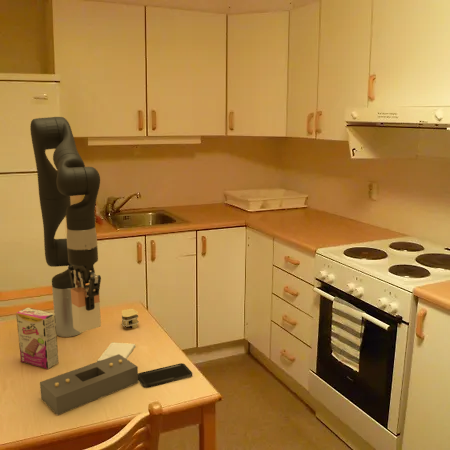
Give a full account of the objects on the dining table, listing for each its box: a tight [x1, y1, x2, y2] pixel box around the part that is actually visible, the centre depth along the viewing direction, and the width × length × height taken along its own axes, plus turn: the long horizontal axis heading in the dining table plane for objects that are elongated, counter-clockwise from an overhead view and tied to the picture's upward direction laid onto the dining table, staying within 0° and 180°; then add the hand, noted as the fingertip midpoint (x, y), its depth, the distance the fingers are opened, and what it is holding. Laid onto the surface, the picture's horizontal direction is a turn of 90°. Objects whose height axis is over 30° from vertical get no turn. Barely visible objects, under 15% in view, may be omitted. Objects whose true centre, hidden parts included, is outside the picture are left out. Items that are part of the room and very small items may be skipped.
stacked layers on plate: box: [121, 308, 139, 329], centre depth 184 cm, size 10×9×6 cm
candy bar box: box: [15, 307, 59, 370], centre depth 156 cm, size 11×5×16 cm, turn 65°
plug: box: [71, 287, 102, 334], centre depth 137 cm, size 4×6×11 cm, turn 132°
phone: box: [138, 362, 193, 389], centre depth 150 cm, size 8×1×15 cm
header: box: [39, 354, 139, 416], centre depth 142 cm, size 10×24×6 cm, turn 132°
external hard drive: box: [96, 342, 136, 362], centre depth 163 cm, size 2×8×12 cm
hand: (86, 306), depth 137 cm, fingers closed on plug, 4 cm apart
